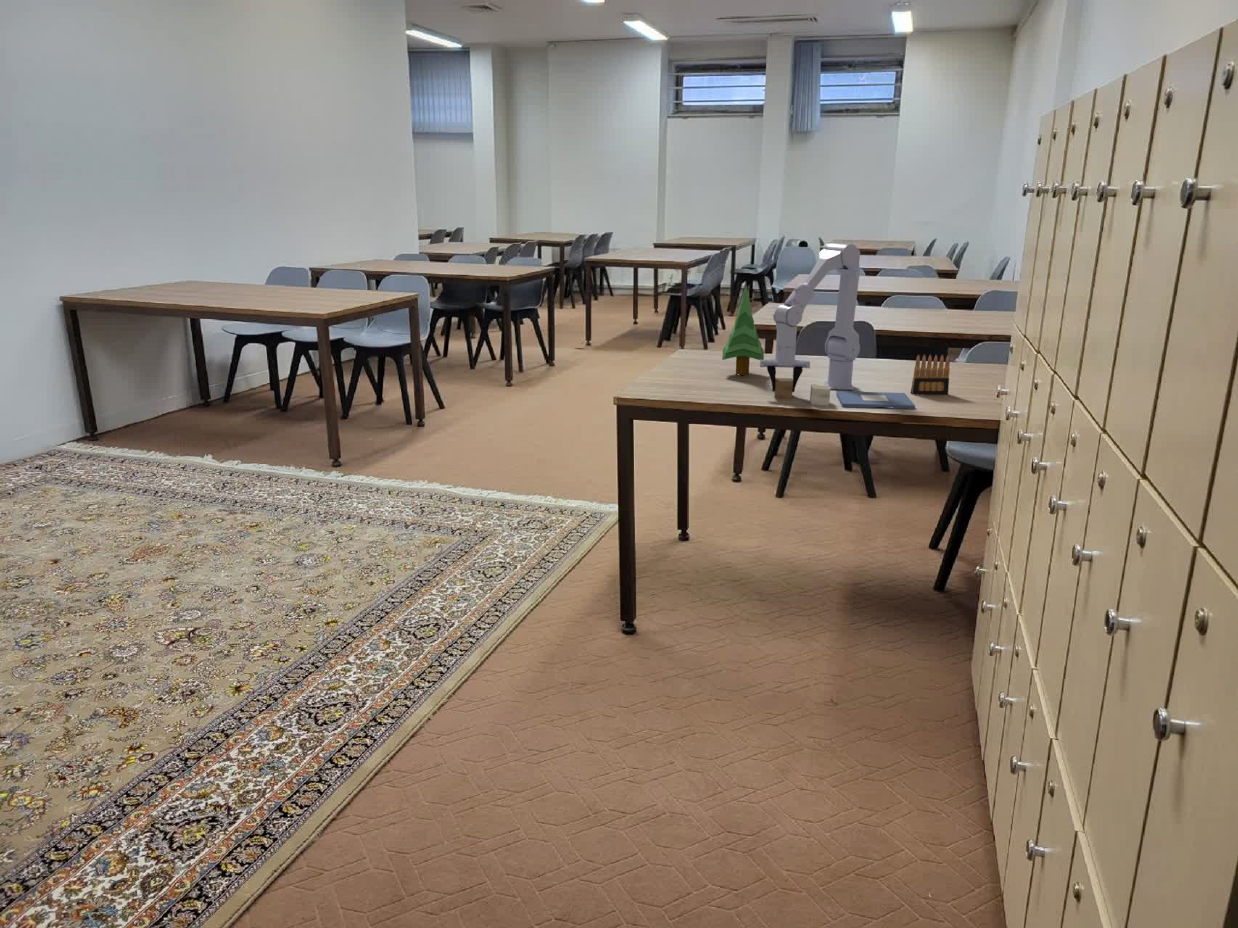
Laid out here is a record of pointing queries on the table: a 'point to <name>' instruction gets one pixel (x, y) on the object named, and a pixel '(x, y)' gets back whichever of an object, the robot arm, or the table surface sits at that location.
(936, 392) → the ammunition clip
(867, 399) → the board
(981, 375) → the table surface
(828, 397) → the off-white block
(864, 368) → the table surface
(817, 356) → the table surface
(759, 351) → the decorative tree
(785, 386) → the walnut block
